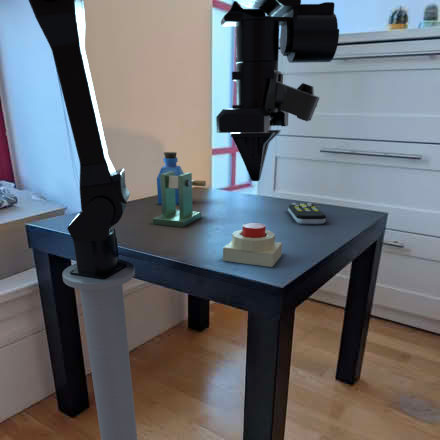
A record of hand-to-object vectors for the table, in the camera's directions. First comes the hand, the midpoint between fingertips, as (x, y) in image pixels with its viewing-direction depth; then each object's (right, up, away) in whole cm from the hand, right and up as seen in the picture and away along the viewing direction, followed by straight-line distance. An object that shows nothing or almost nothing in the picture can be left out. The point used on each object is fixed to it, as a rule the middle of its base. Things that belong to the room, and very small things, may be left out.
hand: (255, 180), depth 63 cm
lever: (-13, +5, +26) cm, 30 cm away
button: (0, -8, +2) cm, 8 cm away
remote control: (+14, -1, +29) cm, 32 cm away
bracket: (-14, -2, +26) cm, 30 cm away
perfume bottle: (-18, +6, +44) cm, 48 cm away
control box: (0, -11, +4) cm, 12 cm away
